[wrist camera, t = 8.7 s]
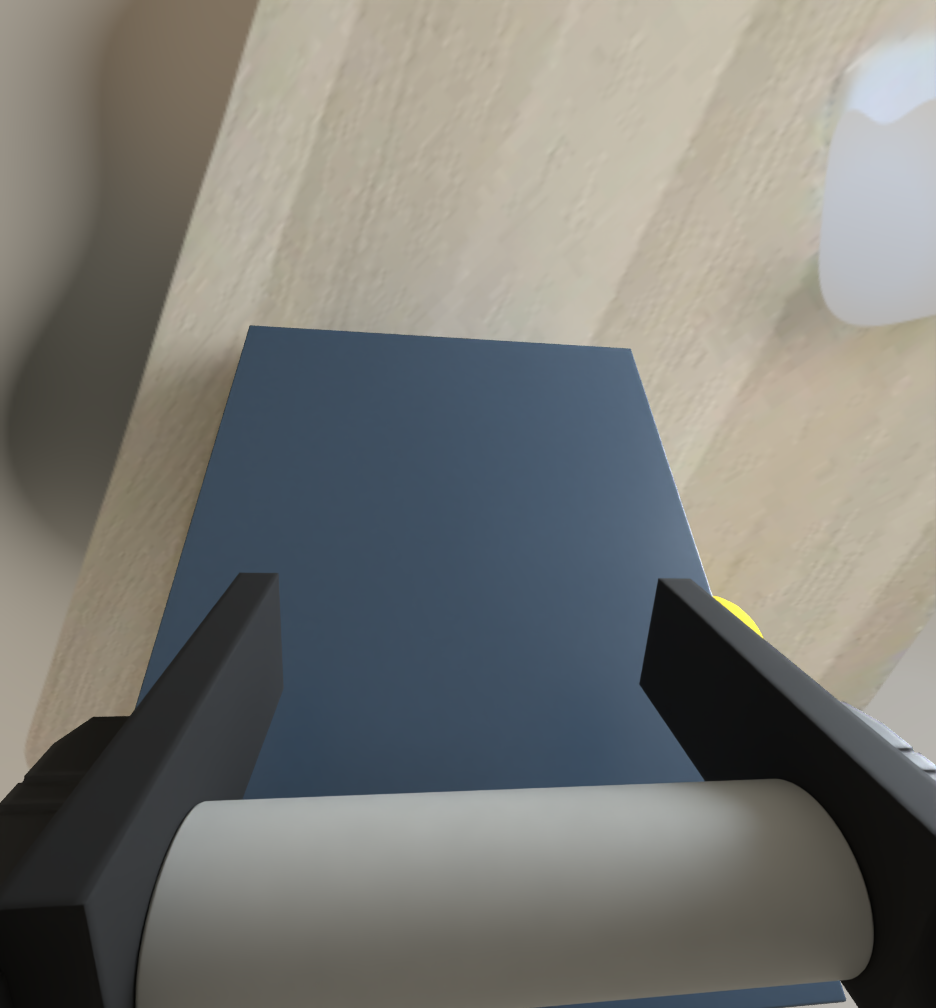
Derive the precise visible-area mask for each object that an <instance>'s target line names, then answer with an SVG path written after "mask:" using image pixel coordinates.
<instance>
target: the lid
mask: <svg viewBox="0 0 936 1008" xmlns="http://www.w3.org/2000/svg"><path fill="white" fill-rule="evenodd" d="M239 572H241V573H279V594H280V617H281V640H282V663H283V685H284V689H283V692H282V694H281V697H280V700H279V702H278V705H277V708H276V710H275V713H274V716H273V718H272V721H271V724H270V727H269V729H268V732H267V735H266V737H265V740H264V743H263V745H262V748H261V751H260V753H259V756H258V759H257V761H256V764H255V767H254V769H253V772H252V775H251V777H250V780H249V783H248V786H247V788H246V791H245V794H244V796H243V799H242V800H223V801H204V802H202V803H199V804H197V805H196V806H195V807H193V808H192V810H191V811H190V812H189V813H188V814H187V816H186V817H185V818H184V820H183V821H182V823H181V825H180V826H179V828H178V830H177V832H176V834H175V836H174V838H173V840H172V842H171V844H170V847H169V849H168V851H167V854H166V856H165V859H164V861H163V864H162V866H161V869H160V872H159V875H158V878H157V881H156V884H155V887H154V891H153V894H152V898H151V901H150V905H149V909H148V913H147V917H146V921H145V926H144V930H143V935H142V941H141V946H140V952H139V960H138V967H137V978H136V995H135V1005H136V1008H785V1007H796V1006H805V1005H817V1004H827V1003H838V1002H844V1001H846V998H845V995H844V992H843V989H842V985H841V983H840V980H849V979H853V978H855V977H857V976H858V975H859V974H860V973H861V972H862V971H863V970H864V969H865V968H866V966H867V965H868V963H869V961H870V958H871V954H872V950H873V943H874V925H873V915H872V909H871V904H870V899H869V896H868V892H867V888H866V885H865V882H864V879H863V876H862V873H861V871H860V868H859V866H858V863H857V861H856V859H855V857H854V855H853V853H852V851H851V849H850V847H849V845H848V843H847V841H846V839H845V838H844V836H843V834H842V833H841V831H840V829H839V828H838V826H837V825H836V824H835V822H834V821H833V819H832V818H831V817H830V815H829V814H828V813H827V812H826V810H825V809H824V808H823V807H822V806H821V805H820V804H819V803H818V802H817V801H816V800H815V799H814V798H813V797H812V796H811V795H810V794H809V793H807V792H806V791H805V790H803V789H802V788H800V787H799V786H797V785H795V784H793V783H791V782H788V781H785V780H781V779H757V780H732V781H706V782H705V781H704V779H703V778H702V776H701V775H700V773H699V772H698V770H697V769H696V767H695V766H694V764H693V763H692V761H691V760H690V759H689V757H688V756H687V754H686V753H685V751H684V750H683V748H682V747H681V745H680V744H679V742H678V741H677V739H676V738H675V736H674V735H673V733H672V732H671V731H670V729H669V728H668V726H667V725H666V723H665V722H664V720H663V719H662V717H661V716H660V714H659V713H658V711H657V710H656V708H655V707H654V705H653V704H652V703H651V701H650V700H649V698H648V697H647V695H646V694H645V692H644V691H643V689H642V688H641V686H640V685H639V682H640V677H641V671H642V666H643V660H644V655H645V649H646V644H647V638H648V632H649V627H650V621H651V616H652V610H653V605H654V599H655V594H656V588H657V583H658V578H686V579H692V580H693V581H694V582H695V583H697V584H698V585H699V586H700V587H701V588H703V589H704V590H705V591H706V592H707V593H709V594H710V595H711V596H712V593H711V590H710V587H709V584H708V581H707V578H706V575H705V572H704V569H703V566H702V563H701V560H700V557H699V554H698V551H697V548H696V545H695V542H694V539H693V536H692V533H691V530H690V527H689V524H688V520H687V517H686V514H685V511H684V508H683V505H682V502H681V499H680V496H679V493H678V490H677V487H676V484H675V481H674V478H673V475H672V472H671V469H670V466H669V463H668V460H667V457H666V454H665V451H664V448H663V445H662V442H661V439H660V436H659V433H658V430H657V427H656V424H655V421H654V418H653V415H652V412H651V409H650V406H649V403H648V400H647V397H646V394H645V391H644V388H643V385H642V382H641V379H640V376H639V373H638V370H637V367H636V364H635V360H634V357H633V354H632V351H631V349H626V348H610V347H594V346H577V345H561V344H545V343H529V342H512V341H496V340H480V339H463V338H447V337H431V336H414V335H398V334H382V333H365V332H349V331H333V330H317V329H300V328H284V327H268V326H250V327H249V330H248V333H247V337H246V340H245V343H244V347H243V350H242V353H241V357H240V360H239V363H238V367H237V370H236V373H235V377H234V380H233V383H232V387H231V390H230V393H229V397H228V400H227V403H226V407H225V410H224V413H223V417H222V420H221V423H220V427H219V430H218V433H217V437H216V440H215V443H214V447H213V450H212V453H211V457H210V460H209V463H208V467H207V470H206V473H205V477H204V480H203V483H202V487H201V490H200V493H199V497H198V500H197V503H196V507H195V510H194V513H193V517H192V520H191V523H190V527H189V530H188V533H187V537H186V540H185V543H184V547H183V550H182V553H181V557H180V560H179V563H178V567H177V570H176V573H175V577H174V580H173V583H172V587H171V590H170V593H169V597H168V600H167V603H166V607H165V610H164V613H163V617H162V620H161V623H160V627H159V630H158V633H157V637H156V640H155V643H154V647H153V650H152V653H151V657H150V660H149V663H148V667H147V670H146V674H145V677H144V680H143V684H142V687H141V690H140V694H139V697H138V700H137V704H136V707H137V706H138V705H139V704H140V702H141V701H142V700H143V698H144V697H145V696H146V694H147V693H148V692H149V690H150V689H151V688H152V687H153V685H154V684H155V683H156V681H157V680H158V679H159V677H160V676H161V675H162V673H163V672H164V671H165V669H166V668H167V667H168V666H169V664H170V663H171V662H172V660H173V659H174V658H175V656H176V655H177V654H178V652H179V651H180V650H181V648H182V647H183V646H184V645H185V643H186V642H187V641H188V639H189V638H190V637H191V635H192V634H193V633H194V631H195V630H196V629H197V627H198V626H199V625H200V624H201V622H202V621H203V620H204V618H205V617H206V616H207V614H208V613H209V612H210V610H211V609H212V608H213V606H214V605H215V604H216V603H217V601H218V600H219V599H220V597H221V596H222V595H223V593H224V592H225V591H226V589H227V588H228V587H229V586H230V584H231V583H232V582H233V580H234V579H235V578H236V576H237V575H238V574H239ZM712 597H713V596H712ZM136 707H135V709H136Z"/></svg>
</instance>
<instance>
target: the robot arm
mask: <svg viewBox="0 0 936 1008" xmlns="http://www.w3.org/2000/svg"><path fill="white" fill-rule="evenodd" d="M639 685H640V686H641V688H642V689H643V691H644V692H645V694H646V695H647V697H648V698H649V700H650V701H651V703H652V704H653V705H654V707H655V708H656V710H657V711H658V713H659V714H660V716H661V717H662V719H663V720H664V722H665V723H666V725H667V726H668V728H669V729H670V731H671V732H672V733H673V735H674V736H675V738H676V739H677V741H678V742H679V744H680V745H681V747H682V748H683V750H684V751H685V753H686V754H687V756H688V757H689V759H690V760H691V761H692V763H693V764H694V766H695V767H696V769H697V770H698V772H699V773H700V775H701V776H702V778H703V779H704V781H705V782H706V781H732V780H757V779H781V780H785V781H788V782H791V783H793V784H795V785H797V786H799V787H800V788H802V789H803V790H805V791H806V792H807V793H809V794H810V795H811V796H812V797H813V798H814V799H815V800H816V801H817V802H818V803H819V804H820V805H821V806H822V807H823V808H824V809H825V810H826V812H827V813H828V814H829V815H830V817H831V818H832V819H833V821H834V822H835V824H836V825H837V826H838V828H839V829H840V831H841V833H842V834H843V836H844V838H845V839H846V841H847V843H848V845H849V847H850V849H851V851H852V853H853V855H854V857H855V859H856V861H857V863H858V866H859V868H860V871H861V873H862V876H863V879H864V882H865V885H866V888H867V892H868V896H869V899H870V904H871V909H872V915H873V925H874V943H873V950H872V954H871V958H870V961H869V963H868V965H867V966H866V968H865V969H864V970H863V971H862V972H861V973H860V974H859V975H858V976H857V977H855V978H853V979H849V980H840V981H841V983H842V984H843V985H844V987H845V988H846V990H847V992H848V993H849V994H850V996H851V997H852V999H853V1000H854V1002H855V1003H856V1005H857V1006H858V1008H936V765H934V764H933V763H932V762H931V761H929V760H928V759H927V758H926V757H924V756H923V755H922V754H921V753H915V752H914V751H913V747H912V746H910V745H909V744H908V743H907V742H905V741H904V740H903V739H902V738H900V737H899V736H898V735H897V734H895V733H894V732H893V731H892V730H890V729H889V728H888V727H887V726H885V725H884V724H883V723H882V722H880V721H878V720H876V719H874V718H872V717H871V716H869V715H867V714H865V713H864V712H862V711H860V710H858V709H856V708H855V707H853V706H851V705H849V704H847V703H846V702H840V701H838V700H837V699H836V698H835V697H834V696H832V695H831V694H830V693H829V692H828V691H826V690H825V689H824V688H823V687H821V686H820V685H819V684H818V683H817V682H815V681H814V680H813V679H812V678H811V677H809V676H808V675H807V674H806V673H805V672H803V671H802V670H801V669H800V668H798V667H797V666H796V665H795V664H794V663H792V662H791V661H790V660H789V659H788V658H786V657H785V656H784V655H783V654H781V653H780V652H779V651H778V650H777V649H775V648H774V647H773V646H772V645H771V644H769V643H768V642H767V641H766V640H764V639H763V638H762V637H761V636H760V635H758V634H757V633H756V632H755V631H754V630H752V629H751V628H750V627H749V626H748V625H746V624H745V623H744V622H743V621H741V620H740V619H739V618H738V617H737V616H735V615H734V614H733V613H732V612H731V611H729V610H728V609H727V608H726V607H724V606H723V605H722V604H721V603H720V602H718V601H717V600H716V599H715V598H714V597H712V596H711V595H710V594H709V593H707V592H706V591H705V590H704V589H703V588H701V587H700V586H699V585H698V584H697V583H695V582H694V581H693V580H692V579H686V578H658V583H657V588H656V594H655V599H654V605H653V610H652V616H651V621H650V627H649V632H648V638H647V644H646V649H645V655H644V660H643V666H642V671H641V677H640V682H639ZM283 689H284V685H283V663H282V640H281V617H280V594H279V573H241V572H239V574H238V575H237V576H236V578H235V579H234V580H233V582H232V583H231V584H230V586H229V587H228V588H227V589H226V591H225V592H224V593H223V595H222V596H221V597H220V599H219V600H218V601H217V603H216V604H215V605H214V606H213V608H212V609H211V610H210V612H209V613H208V614H207V616H206V617H205V618H204V620H203V621H202V622H201V624H200V625H199V626H198V627H197V629H196V630H195V631H194V633H193V634H192V635H191V637H190V638H189V639H188V641H187V642H186V643H185V645H184V646H183V647H182V648H181V650H180V651H179V652H178V654H177V655H176V656H175V658H174V659H173V660H172V662H171V663H170V664H169V666H168V667H167V668H166V669H165V671H164V672H163V673H162V675H161V676H160V677H159V679H158V680H157V681H156V683H155V684H154V685H153V687H152V688H151V689H150V690H149V692H148V693H147V694H146V696H145V697H144V698H143V700H142V701H141V702H140V704H139V705H138V706H137V707H136V709H135V710H134V711H133V713H132V714H131V715H130V716H115V717H92V718H91V719H89V720H88V721H86V722H85V723H83V724H82V725H80V726H79V727H78V728H76V729H75V730H73V731H72V732H70V733H69V734H67V735H66V736H64V737H63V738H61V739H60V740H58V741H57V742H55V743H54V744H53V745H52V746H51V747H50V748H49V749H48V750H47V752H46V753H45V754H44V755H43V756H42V757H41V758H40V759H39V760H38V762H37V763H36V764H35V765H34V766H33V767H32V768H31V769H30V770H29V772H28V773H27V774H26V775H25V776H24V781H23V782H22V783H18V784H17V785H16V786H15V787H14V788H13V789H12V790H11V792H10V793H9V794H8V795H7V796H6V797H5V798H4V799H3V800H2V801H1V803H0V1008H136V1005H135V995H136V978H137V967H138V960H139V952H140V946H141V941H142V935H143V930H144V926H145V921H146V917H147V913H148V909H149V905H150V901H151V898H152V894H153V891H154V887H155V884H156V881H157V878H158V875H159V872H160V869H161V866H162V864H163V861H164V859H165V856H166V854H167V851H168V849H169V847H170V844H171V842H172V840H173V838H174V836H175V834H176V832H177V830H178V828H179V826H180V825H181V823H182V821H183V820H184V818H185V817H186V816H187V814H188V813H189V812H190V811H191V810H192V808H193V807H195V806H196V805H197V804H199V803H202V802H204V801H223V800H242V799H243V796H244V794H245V791H246V788H247V786H248V783H249V780H250V777H251V775H252V772H253V769H254V767H255V764H256V761H257V759H258V756H259V753H260V751H261V748H262V745H263V743H264V740H265V737H266V735H267V732H268V729H269V727H270V724H271V721H272V718H273V716H274V713H275V710H276V708H277V705H278V702H279V700H280V697H281V694H282V692H283Z"/></svg>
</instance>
